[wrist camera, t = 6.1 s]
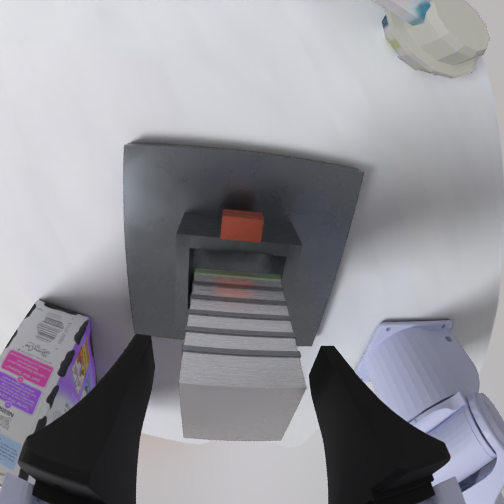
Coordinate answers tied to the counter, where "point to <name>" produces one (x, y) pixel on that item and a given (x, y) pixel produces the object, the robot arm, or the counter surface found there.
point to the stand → (231, 228)
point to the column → (239, 359)
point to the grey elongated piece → (435, 34)
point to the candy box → (42, 377)
